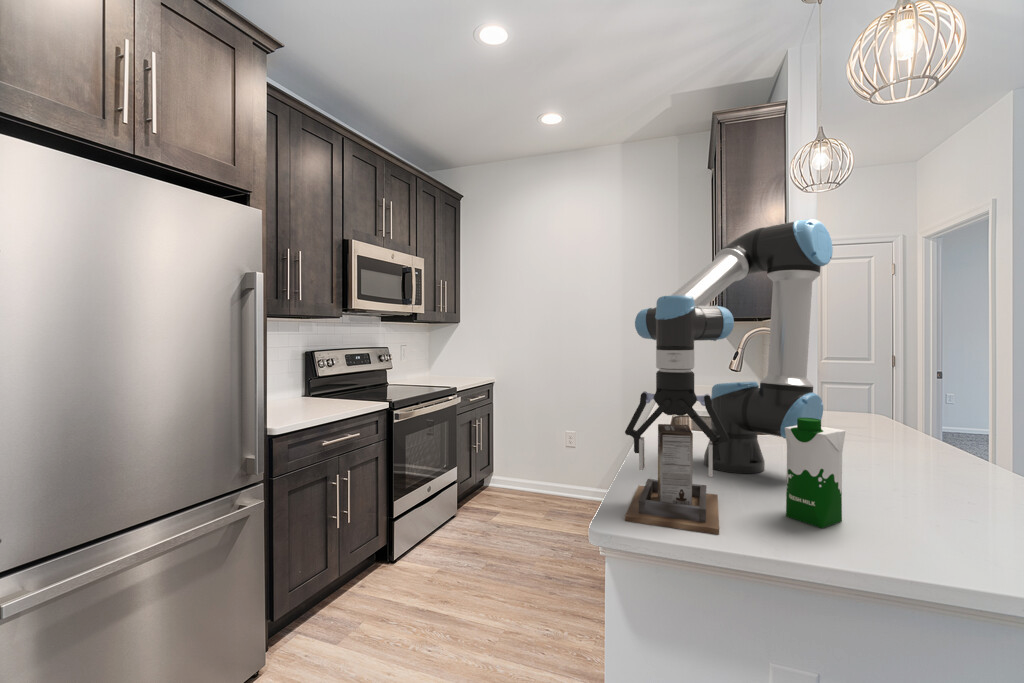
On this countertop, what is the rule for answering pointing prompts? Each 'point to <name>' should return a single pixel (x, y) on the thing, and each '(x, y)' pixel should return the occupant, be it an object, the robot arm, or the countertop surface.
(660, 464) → the coffee box
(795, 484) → the milk carton
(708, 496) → the pocket board
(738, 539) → the countertop surface
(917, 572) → the countertop surface
